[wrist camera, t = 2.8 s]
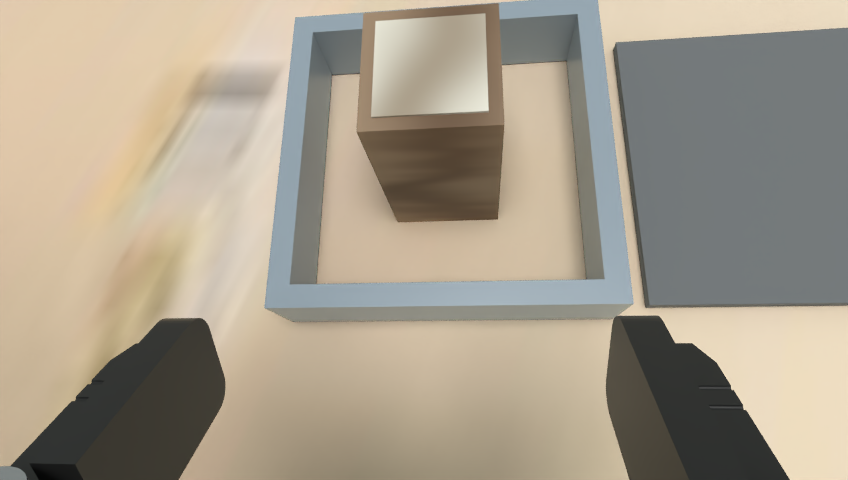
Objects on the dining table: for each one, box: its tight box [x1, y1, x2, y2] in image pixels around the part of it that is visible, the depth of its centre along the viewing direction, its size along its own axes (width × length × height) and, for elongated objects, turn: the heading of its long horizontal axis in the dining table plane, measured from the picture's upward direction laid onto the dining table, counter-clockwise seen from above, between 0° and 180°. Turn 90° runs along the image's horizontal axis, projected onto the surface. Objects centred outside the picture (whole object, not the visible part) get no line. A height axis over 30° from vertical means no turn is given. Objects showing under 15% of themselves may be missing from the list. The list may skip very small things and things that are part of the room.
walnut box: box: [357, 3, 504, 222], centre depth 23 cm, size 5×5×9 cm
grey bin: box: [264, 0, 634, 322], centre depth 25 cm, size 15×15×4 cm
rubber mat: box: [613, 28, 848, 308], centre depth 25 cm, size 14×14×1 cm
